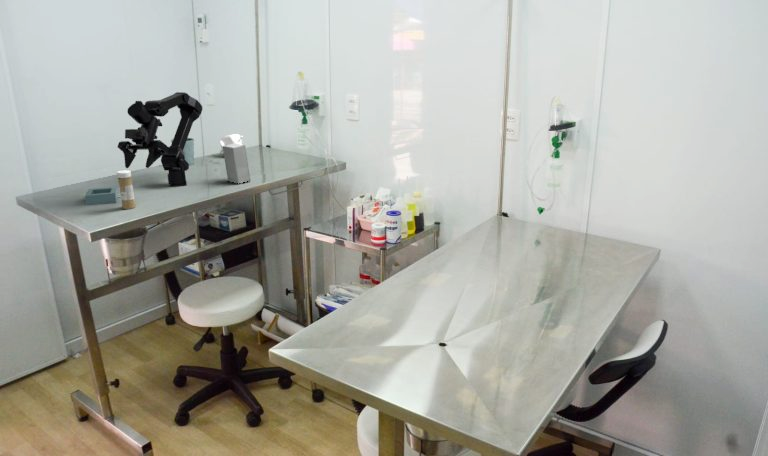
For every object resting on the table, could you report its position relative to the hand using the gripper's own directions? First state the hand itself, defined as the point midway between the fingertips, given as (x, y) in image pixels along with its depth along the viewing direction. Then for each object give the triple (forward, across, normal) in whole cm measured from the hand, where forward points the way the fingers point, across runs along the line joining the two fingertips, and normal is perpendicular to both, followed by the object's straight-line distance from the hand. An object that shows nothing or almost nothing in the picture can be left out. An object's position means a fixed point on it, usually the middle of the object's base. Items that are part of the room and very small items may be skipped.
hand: (136, 167), depth 204 cm
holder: (+11, -16, +4) cm, 20 cm away
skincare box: (-12, +18, +37) cm, 43 cm away
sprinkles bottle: (+16, +1, +2) cm, 16 cm away
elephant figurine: (-41, -11, +69) cm, 81 cm away
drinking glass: (-29, -25, +52) cm, 65 cm away
